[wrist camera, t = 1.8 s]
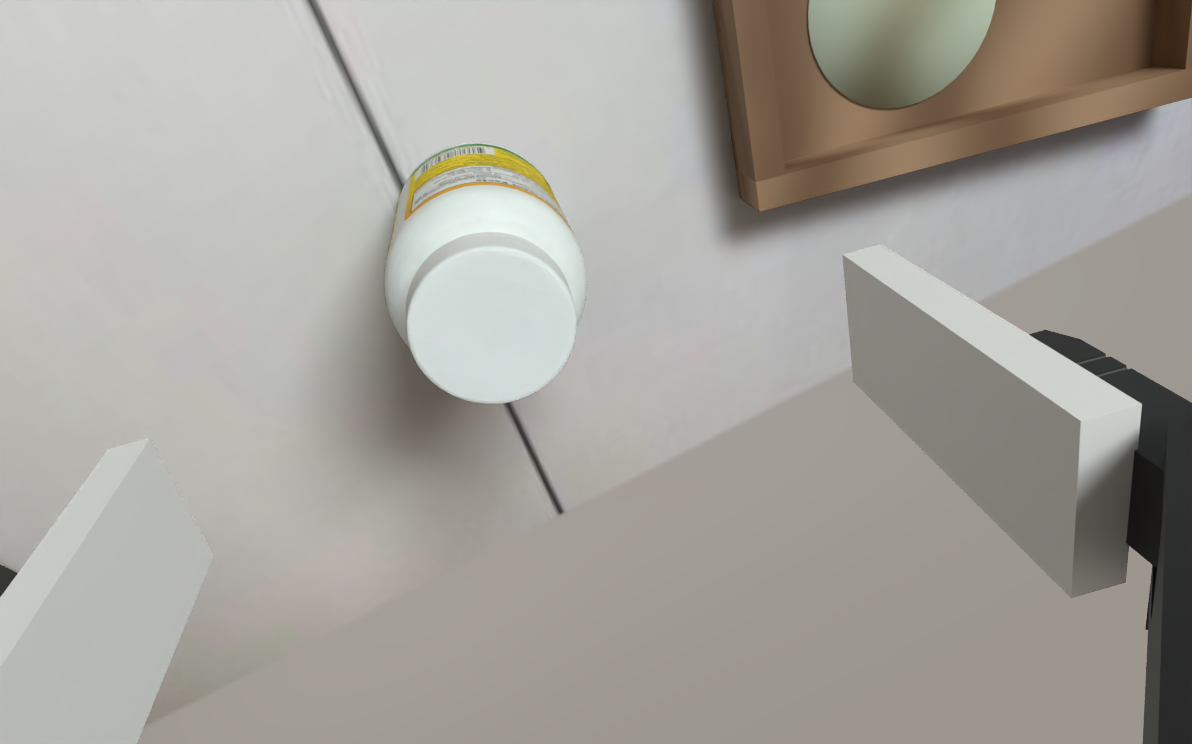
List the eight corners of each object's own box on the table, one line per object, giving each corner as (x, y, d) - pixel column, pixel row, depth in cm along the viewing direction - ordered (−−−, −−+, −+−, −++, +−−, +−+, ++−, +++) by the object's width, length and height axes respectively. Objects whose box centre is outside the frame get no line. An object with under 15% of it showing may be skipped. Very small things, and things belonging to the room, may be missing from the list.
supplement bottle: (446, 107, 26) (449, 167, 18) (587, 194, 28) (651, 286, 20) (366, 250, 28) (333, 369, 19) (505, 323, 30) (532, 462, 21)
